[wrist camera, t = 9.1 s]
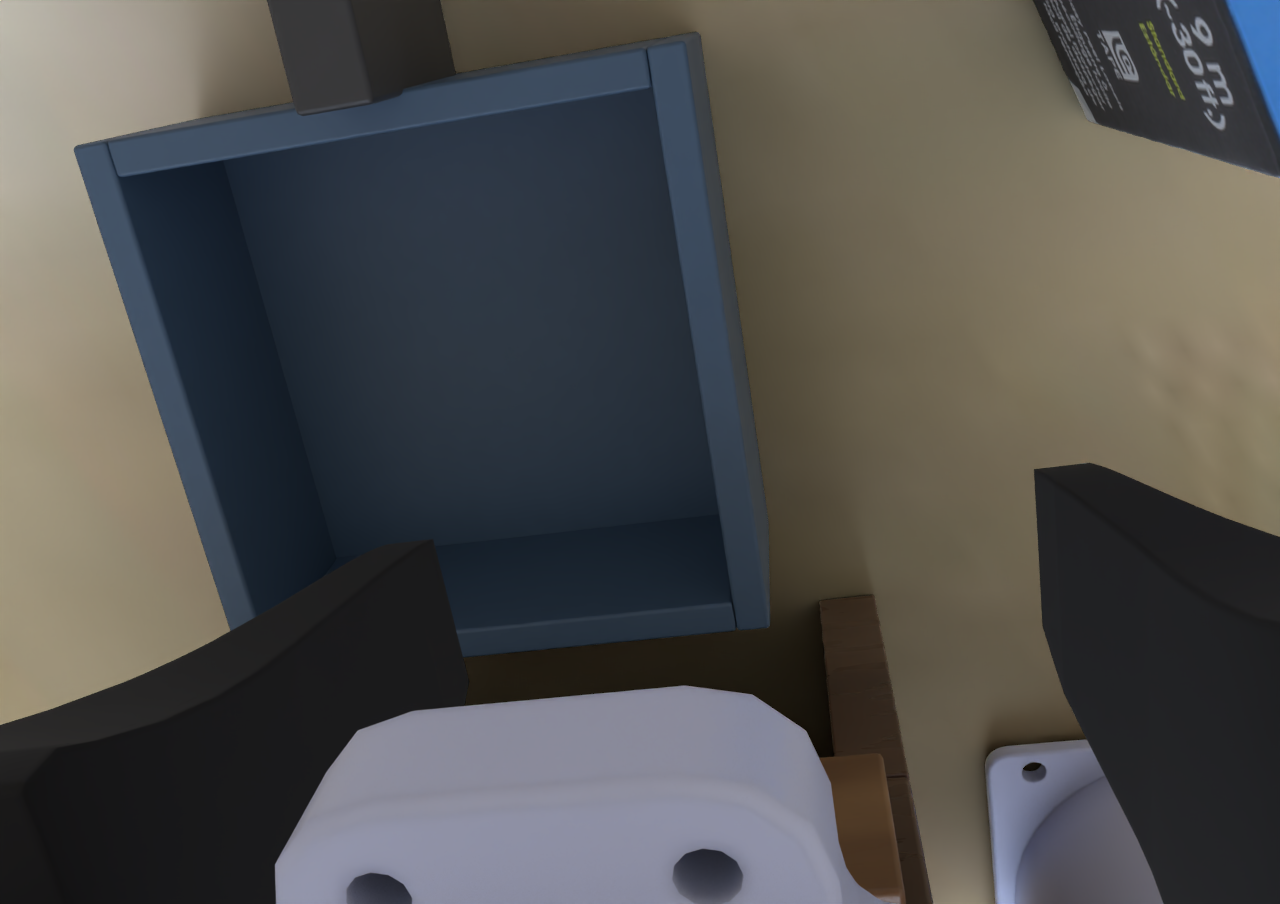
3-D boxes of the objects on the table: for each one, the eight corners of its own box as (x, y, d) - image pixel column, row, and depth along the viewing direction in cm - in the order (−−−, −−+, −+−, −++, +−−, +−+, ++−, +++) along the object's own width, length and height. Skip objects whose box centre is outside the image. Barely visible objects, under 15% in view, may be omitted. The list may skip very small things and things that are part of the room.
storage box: (647, -342, 19) (602, -475, 14) (769, 522, 25) (771, 675, 19) (98, -218, 21) (-141, -296, 15) (326, 572, 26) (210, 726, 21)
